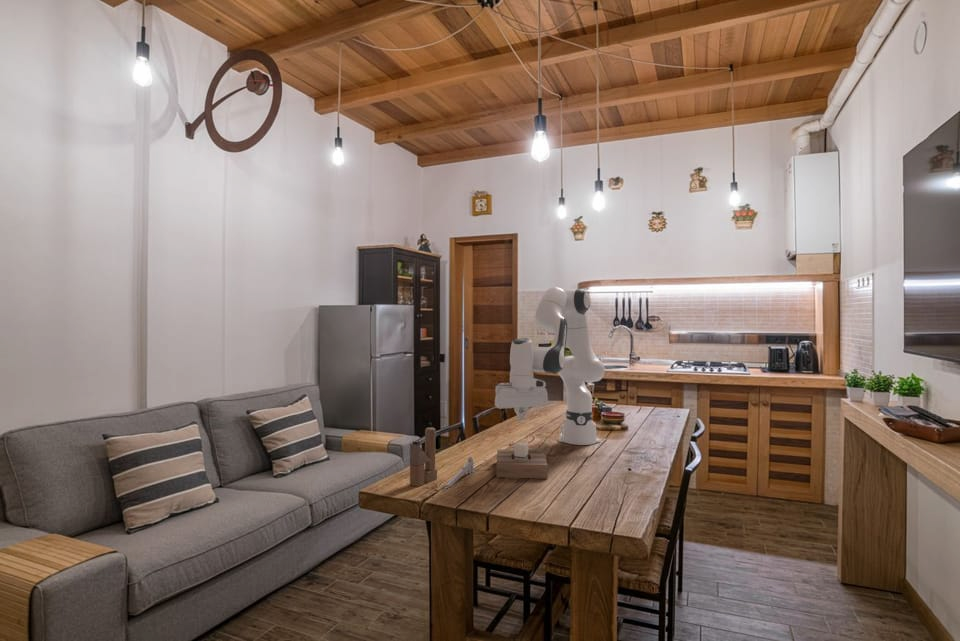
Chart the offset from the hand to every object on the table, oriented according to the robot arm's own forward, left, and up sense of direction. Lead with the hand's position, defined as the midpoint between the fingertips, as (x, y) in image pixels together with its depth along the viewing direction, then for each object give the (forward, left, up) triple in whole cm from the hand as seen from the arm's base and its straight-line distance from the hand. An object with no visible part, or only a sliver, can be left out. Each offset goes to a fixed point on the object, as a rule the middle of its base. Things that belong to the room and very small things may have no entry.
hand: (521, 419), depth 190 cm
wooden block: (+16, -34, -19) cm, 42 cm away
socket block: (0, 0, -19) cm, 19 cm away
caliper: (+13, -22, -20) cm, 32 cm away
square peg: (0, 0, -19) cm, 19 cm away
